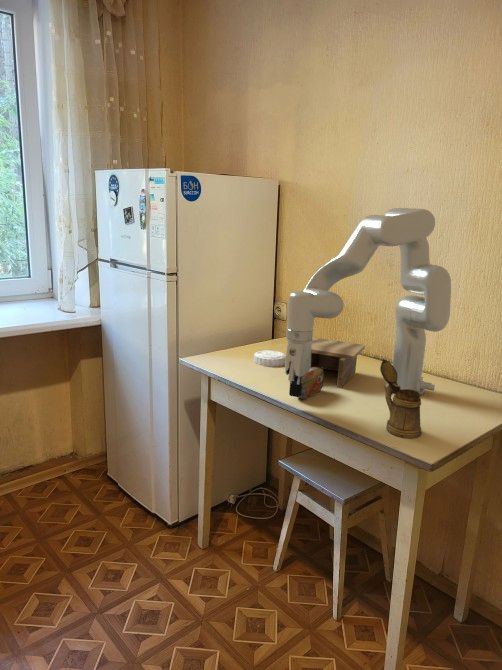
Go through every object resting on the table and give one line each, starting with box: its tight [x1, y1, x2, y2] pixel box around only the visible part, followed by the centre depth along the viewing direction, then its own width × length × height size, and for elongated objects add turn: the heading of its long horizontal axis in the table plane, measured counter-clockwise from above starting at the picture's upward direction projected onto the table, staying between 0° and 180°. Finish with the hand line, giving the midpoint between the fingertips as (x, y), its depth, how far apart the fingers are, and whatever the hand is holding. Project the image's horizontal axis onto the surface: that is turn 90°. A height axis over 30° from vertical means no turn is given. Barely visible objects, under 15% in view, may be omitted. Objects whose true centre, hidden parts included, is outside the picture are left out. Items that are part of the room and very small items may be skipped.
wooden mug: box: [379, 359, 422, 439], centre depth 137 cm, size 9×14×18 cm, turn 40°
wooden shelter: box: [311, 336, 366, 389], centre depth 180 cm, size 20×20×11 cm
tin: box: [297, 367, 325, 400], centre depth 161 cm, size 15×3×8 cm, turn 143°
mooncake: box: [253, 349, 286, 368], centre depth 195 cm, size 12×12×4 cm
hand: (295, 395), depth 150 cm, fingers closed
